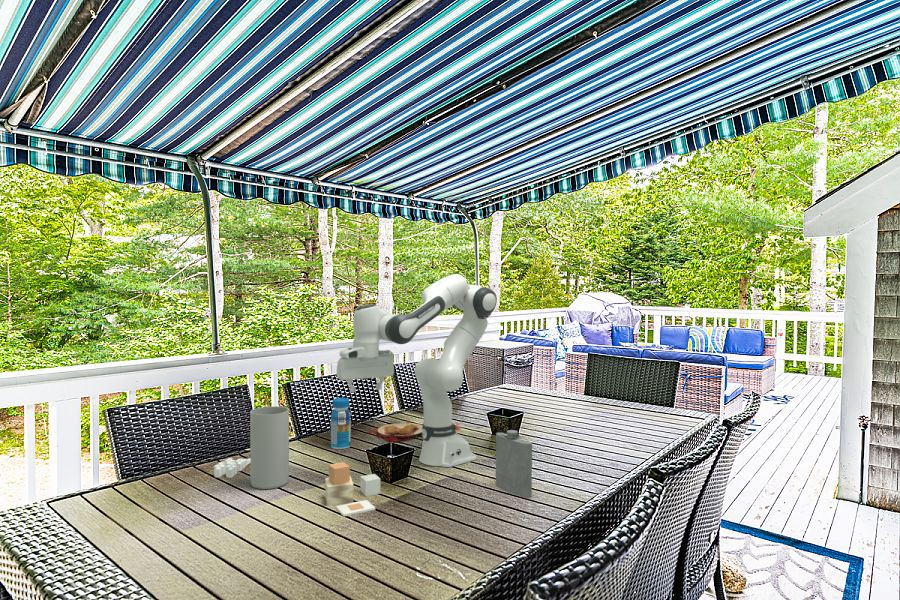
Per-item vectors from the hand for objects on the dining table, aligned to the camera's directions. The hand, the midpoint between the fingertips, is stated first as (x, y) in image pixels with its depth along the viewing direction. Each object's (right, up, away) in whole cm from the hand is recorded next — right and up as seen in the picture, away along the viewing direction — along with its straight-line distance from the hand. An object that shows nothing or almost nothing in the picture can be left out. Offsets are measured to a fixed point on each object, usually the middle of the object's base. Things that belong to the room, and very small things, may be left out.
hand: (365, 390), depth 193 cm
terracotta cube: (-6, -26, -17) cm, 32 cm away
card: (+1, -32, -24) cm, 40 cm away
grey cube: (+3, -32, -11) cm, 34 cm away
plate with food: (+7, -30, +62) cm, 69 cm away
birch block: (-6, -32, -17) cm, 37 cm away
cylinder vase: (-32, -31, -4) cm, 45 cm away
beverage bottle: (-16, -30, +39) cm, 52 cm away
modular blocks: (-50, -31, +10) cm, 60 cm away
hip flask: (+50, -32, -8) cm, 60 cm away
